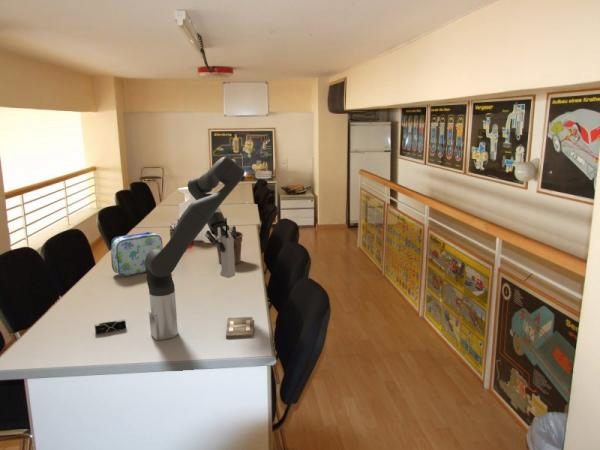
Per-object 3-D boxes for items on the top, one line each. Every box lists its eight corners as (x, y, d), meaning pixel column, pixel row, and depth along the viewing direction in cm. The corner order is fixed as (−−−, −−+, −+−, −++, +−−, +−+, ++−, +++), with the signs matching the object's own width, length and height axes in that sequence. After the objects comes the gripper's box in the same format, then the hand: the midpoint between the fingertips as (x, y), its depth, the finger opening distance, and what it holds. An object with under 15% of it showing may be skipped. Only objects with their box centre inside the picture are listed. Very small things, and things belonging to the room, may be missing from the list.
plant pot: (242, 266, 270) (241, 238, 266) (212, 266, 270) (211, 238, 266) (245, 257, 285) (244, 230, 282) (218, 258, 286) (216, 231, 282)
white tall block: (211, 243, 319) (180, 242, 322) (217, 238, 330) (187, 237, 333) (208, 189, 311) (177, 189, 314) (214, 187, 322) (184, 186, 325)
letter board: (252, 336, 185) (252, 333, 184) (226, 338, 184) (225, 335, 183) (252, 319, 200) (252, 316, 200) (227, 320, 199) (227, 318, 199)
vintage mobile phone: (227, 273, 208) (224, 215, 202) (235, 276, 205) (232, 217, 199) (220, 275, 205) (217, 217, 199) (228, 278, 202) (225, 219, 196)
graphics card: (94, 336, 188) (93, 325, 186) (93, 332, 190) (92, 321, 188) (126, 330, 193) (125, 320, 191) (125, 326, 195) (124, 316, 193)
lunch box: (157, 264, 276) (154, 227, 271) (166, 268, 268) (163, 231, 263) (111, 274, 259) (107, 235, 254) (119, 279, 251) (115, 239, 246)
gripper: (226, 219, 214) (241, 252, 208) (195, 223, 206) (210, 258, 199) (231, 209, 209) (247, 242, 202) (201, 213, 201) (216, 248, 194)
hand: (229, 250), depth 201 cm, fingers closed on vintage mobile phone, 4 cm apart
